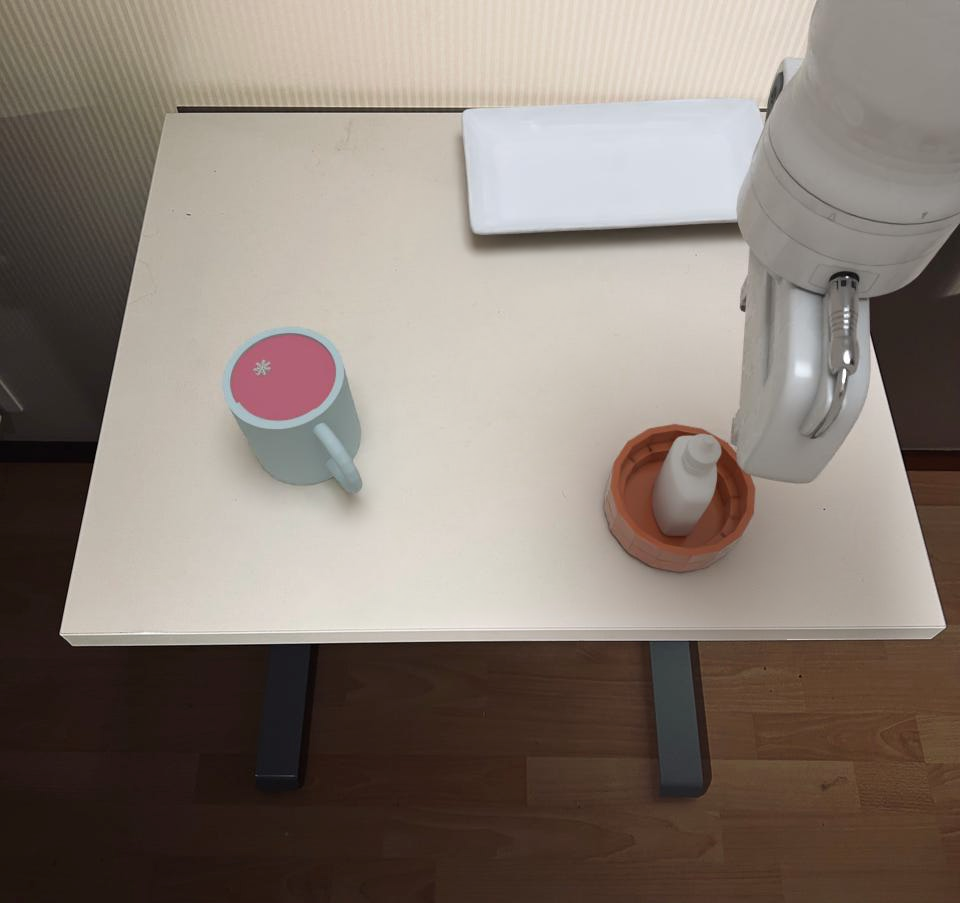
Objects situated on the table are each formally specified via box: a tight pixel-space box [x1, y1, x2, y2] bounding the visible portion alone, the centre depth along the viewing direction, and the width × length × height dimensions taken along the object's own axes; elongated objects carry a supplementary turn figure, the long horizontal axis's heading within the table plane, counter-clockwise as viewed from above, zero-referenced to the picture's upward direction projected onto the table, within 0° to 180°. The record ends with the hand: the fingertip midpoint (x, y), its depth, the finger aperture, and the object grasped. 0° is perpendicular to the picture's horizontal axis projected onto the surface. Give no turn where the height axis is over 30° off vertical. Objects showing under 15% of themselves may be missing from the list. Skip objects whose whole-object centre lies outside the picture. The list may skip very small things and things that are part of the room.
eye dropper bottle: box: [652, 434, 721, 536], centre depth 61 cm, size 4×6×12 cm
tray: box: [460, 97, 765, 236], centre depth 82 cm, size 17×31×4 cm, turn 94°
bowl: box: [603, 423, 756, 573], centre depth 65 cm, size 11×11×4 cm
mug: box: [221, 326, 363, 494], centre depth 64 cm, size 14×9×10 cm
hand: (749, 367), depth 47 cm, fingers open, 8 cm apart
